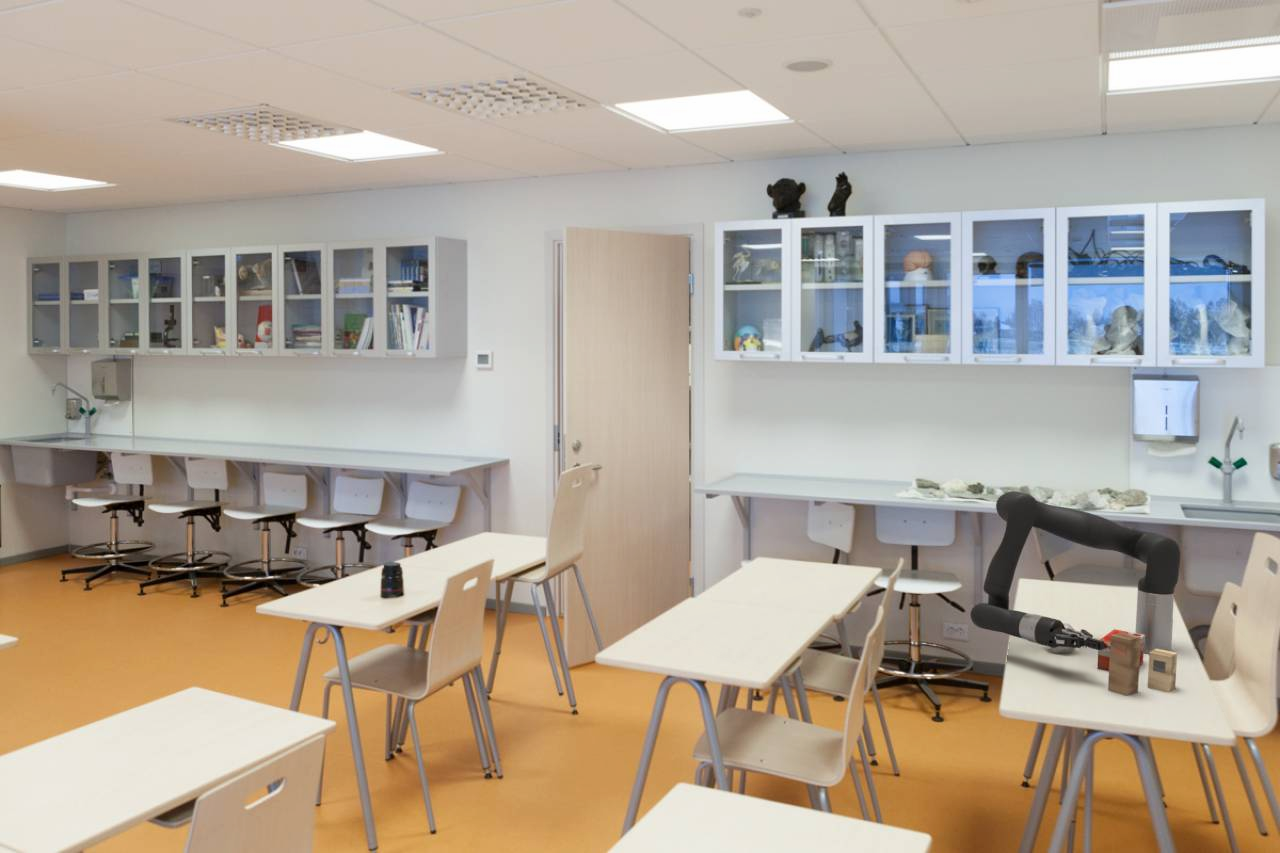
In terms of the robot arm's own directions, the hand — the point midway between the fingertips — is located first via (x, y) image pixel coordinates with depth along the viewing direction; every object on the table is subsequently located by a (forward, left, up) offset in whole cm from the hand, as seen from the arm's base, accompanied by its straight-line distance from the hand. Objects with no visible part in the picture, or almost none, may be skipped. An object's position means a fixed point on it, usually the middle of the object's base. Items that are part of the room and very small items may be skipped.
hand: (1102, 646), depth 260 cm
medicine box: (-20, -6, -10) cm, 23 cm away
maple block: (-11, +10, -10) cm, 18 cm away
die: (-18, -22, -10) cm, 30 cm away
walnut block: (0, +6, -10) cm, 12 cm away
